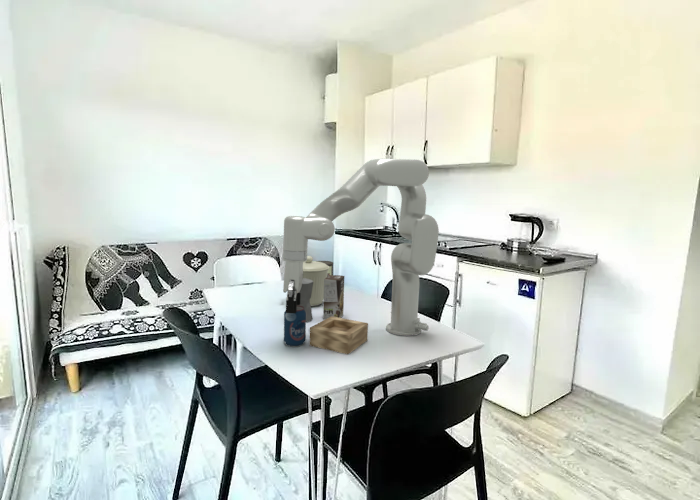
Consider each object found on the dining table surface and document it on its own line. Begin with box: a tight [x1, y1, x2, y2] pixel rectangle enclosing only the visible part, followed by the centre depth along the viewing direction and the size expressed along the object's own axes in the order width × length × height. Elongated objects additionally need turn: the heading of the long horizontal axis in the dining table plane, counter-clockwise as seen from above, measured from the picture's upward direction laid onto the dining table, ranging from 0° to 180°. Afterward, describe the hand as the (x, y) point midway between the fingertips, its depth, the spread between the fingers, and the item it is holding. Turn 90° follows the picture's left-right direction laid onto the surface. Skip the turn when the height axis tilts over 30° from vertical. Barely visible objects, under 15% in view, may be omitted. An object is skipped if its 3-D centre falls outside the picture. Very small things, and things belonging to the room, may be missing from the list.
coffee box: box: [322, 274, 345, 321], centre depth 162 cm, size 9×6×16 cm
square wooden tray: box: [309, 316, 369, 355], centre depth 136 cm, size 14×14×6 cm
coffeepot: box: [298, 278, 314, 323], centre depth 157 cm, size 15×9×18 cm, turn 176°
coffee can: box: [316, 260, 334, 277], centre depth 205 cm, size 10×10×14 cm
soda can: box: [283, 305, 307, 348], centre depth 134 cm, size 7×7×12 cm
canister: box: [303, 255, 329, 307], centre depth 180 cm, size 18×18×21 cm
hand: (293, 308), depth 132 cm, fingers open, 9 cm apart
